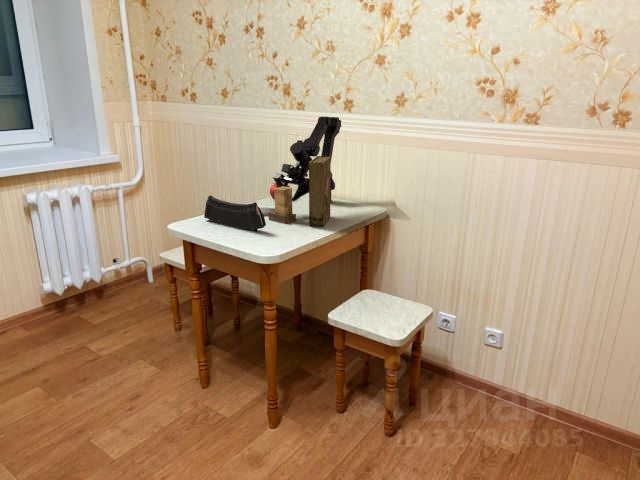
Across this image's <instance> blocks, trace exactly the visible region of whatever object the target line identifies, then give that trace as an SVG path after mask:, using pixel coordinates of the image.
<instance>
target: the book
mask: <svg viewBox="0 0 640 480" xmlns="http://www.w3.org/2000/svg"><path fill="white" fill-rule="evenodd" d="M331 164H332V159H331V157H330V156H321V155H317V156H316V157H314V158H313V159H312V160H311V161H310V162H309V170H308V178H309V193H308V210H309V211H308V215H309V216H308V218H309V220H308V221H309V222H308V223H309V226H310V227H315V226H316V227H321V228H322V227H325V225H326V224H327V223H328V221H329V220H330V218H331V203H330V179H331V172H332V170H331V167H332V165H331Z"/></svg>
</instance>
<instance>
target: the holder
mask: <svg viewBox="0 0 640 480" xmlns="http://www.w3.org/2000/svg"><path fill="white" fill-rule="evenodd" d="M268 220H269V221H270V222H271V221H272V222H276V223H281V224H283V225H287V224H289V223H291V222H294V221H297V214H296V213H293V214H291V215H288V216H285V215H281V214H276V213H275V212H274V213H272V212H270V213H269V216H268Z"/></svg>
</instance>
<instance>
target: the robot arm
mask: <svg viewBox="0 0 640 480" xmlns="http://www.w3.org/2000/svg"><path fill="white" fill-rule="evenodd" d="M339 119H340V118H339V117H338V116H323V115H322V116H319V117H318V118H317V122H316V125H315V126H314V128H313V130H312V132H311V134H310V135H309V137H308V138H305V139H304V140H301V139H298V140H296V142H294V143H293V144H292V145H290V146H289V151H290V154H292V156H293V159H294V160H295V161H296V163H294V164H289V163H283V164H282V166H281V169H280V170H281V171H280V172H283V173H284V174H285V175H286V176H287V177H286V176H285V175H284V174H283V173H275V174H273V177H272V179H273V181H274V183H276V184H277V186H276V188H278V187H282V186H283V187H286V186H287V185H296V186H297V189H296V190H295V193H294V195H292V203H293V202H295V201H297V200H298V199H300V198H302V197H303V196H305V195H307V194H309V162H310V161H311V160H313V159H312V158H313V157H314V158H315V157H317V156H319V153H320V151H321V155H320V156H330V157H331V160H332V157H333V152H334V146H335V145H334V144H335V141H336V140H335V138H336V137H337V135H339V133H340V131H341V130H340V129H341V127H342V125H341V122H342V119H340V120H339ZM322 139H323V141H322ZM321 141H322V142H323V143H322V149H321V146H320V144H321ZM335 188H336V183H335V181H334V178H333V173H332V171H331V179H330V204H332V202H333V201H332V200H333V199H332V191H335V190H336V189H335Z"/></svg>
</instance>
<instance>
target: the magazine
mask: <svg viewBox="0 0 640 480" xmlns="http://www.w3.org/2000/svg"><path fill="white" fill-rule="evenodd" d="M260 208H261V207H260V206H258V203H257V202H256V201H254V202H252V203H234V202H229V201H225V200H221V199H218V198H216V197H214V196H213V195H209V196H207V200H206V202H205V208H204V216H203V217H204V219H206V220H207V219H208V220H209V221H211V222H214V223H217V224H220V225H223V226H227V227H231V228H235V229H242V230H254V232H255V233H257V232H258V230H260V229H264V228H265V226H267V223H266V220H265V216H264V215H263V213H262V212H261V210H260Z"/></svg>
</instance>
